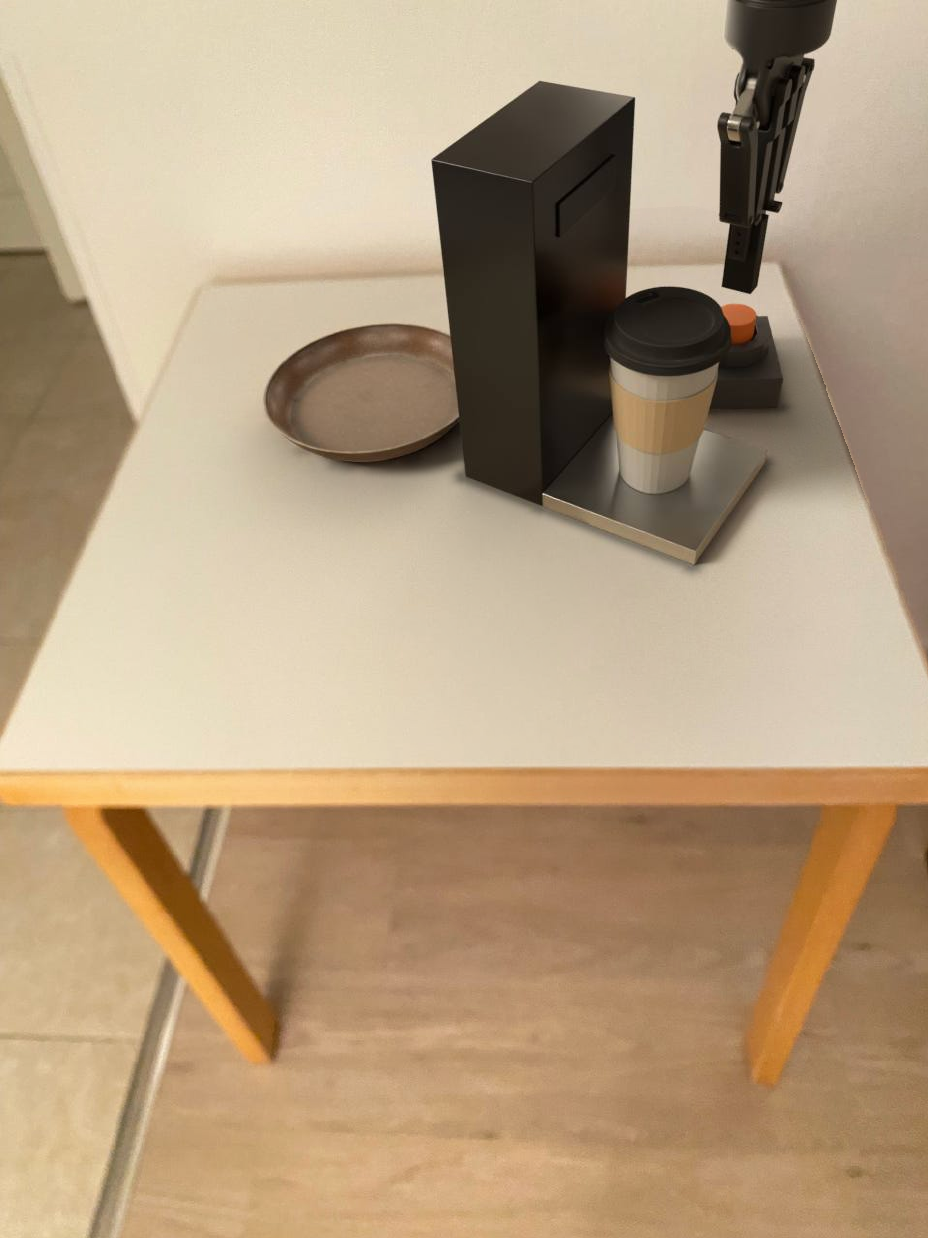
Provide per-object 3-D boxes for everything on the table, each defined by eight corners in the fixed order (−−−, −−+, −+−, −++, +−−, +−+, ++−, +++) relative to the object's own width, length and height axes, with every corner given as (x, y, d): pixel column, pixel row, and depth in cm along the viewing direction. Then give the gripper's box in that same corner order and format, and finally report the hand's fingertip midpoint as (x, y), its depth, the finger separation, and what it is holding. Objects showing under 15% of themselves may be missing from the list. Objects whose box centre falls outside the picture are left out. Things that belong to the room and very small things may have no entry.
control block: (777, 407, 89) (787, 360, 85) (688, 410, 90) (694, 364, 86) (762, 344, 95) (770, 298, 91) (679, 347, 96) (684, 302, 92)
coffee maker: (764, 463, 84) (830, 129, 63) (694, 565, 77) (740, 228, 56) (546, 391, 93) (539, 79, 72) (465, 476, 86) (430, 158, 65)
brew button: (755, 344, 88) (759, 324, 86) (715, 346, 88) (717, 326, 86) (750, 322, 90) (753, 302, 88) (711, 323, 90) (713, 303, 89)
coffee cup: (633, 423, 87) (642, 268, 75) (731, 458, 83) (757, 299, 71) (578, 485, 82) (579, 329, 71) (679, 524, 78) (698, 366, 67)
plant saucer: (288, 352, 101) (281, 324, 99) (486, 342, 99) (483, 313, 97) (253, 485, 88) (244, 457, 85) (481, 476, 86) (478, 447, 84)
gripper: (770, -56, 72) (730, 242, 90) (693, 4, 66) (666, 312, 84) (870, -46, 69) (808, 261, 87) (800, 18, 63) (749, 335, 81)
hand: (739, 286), depth 85 cm, fingers closed
